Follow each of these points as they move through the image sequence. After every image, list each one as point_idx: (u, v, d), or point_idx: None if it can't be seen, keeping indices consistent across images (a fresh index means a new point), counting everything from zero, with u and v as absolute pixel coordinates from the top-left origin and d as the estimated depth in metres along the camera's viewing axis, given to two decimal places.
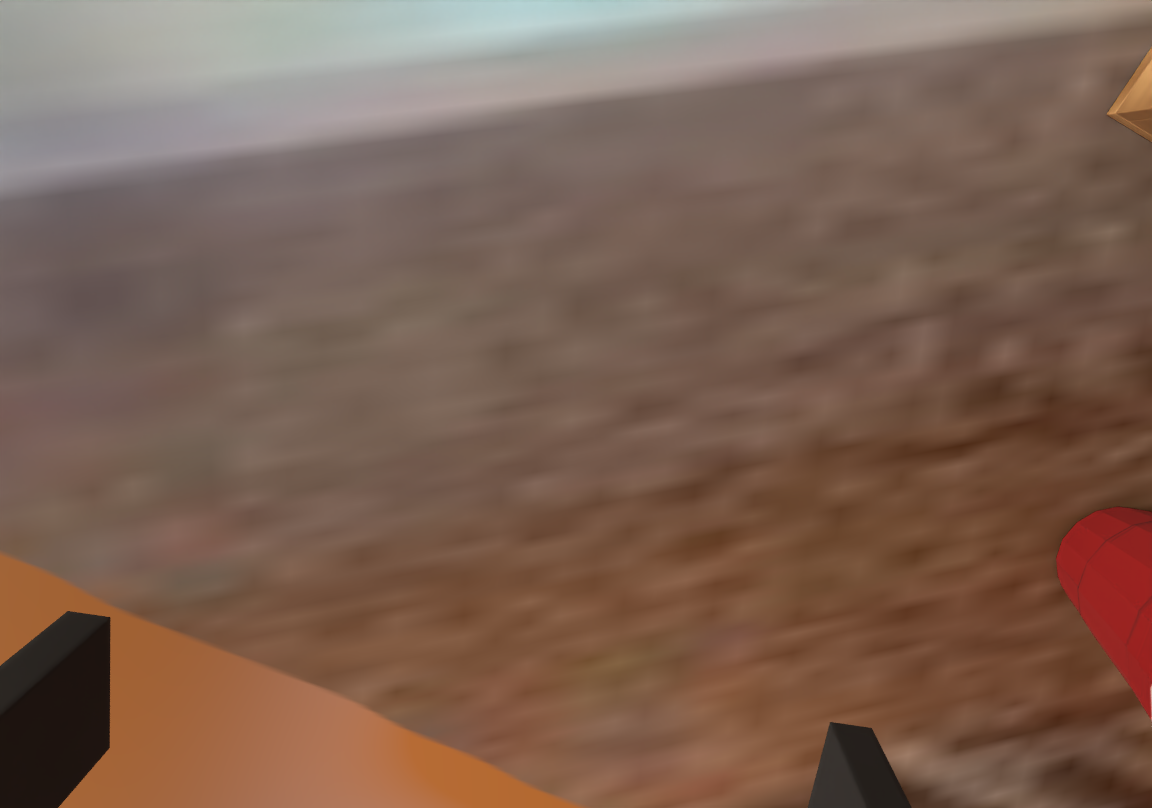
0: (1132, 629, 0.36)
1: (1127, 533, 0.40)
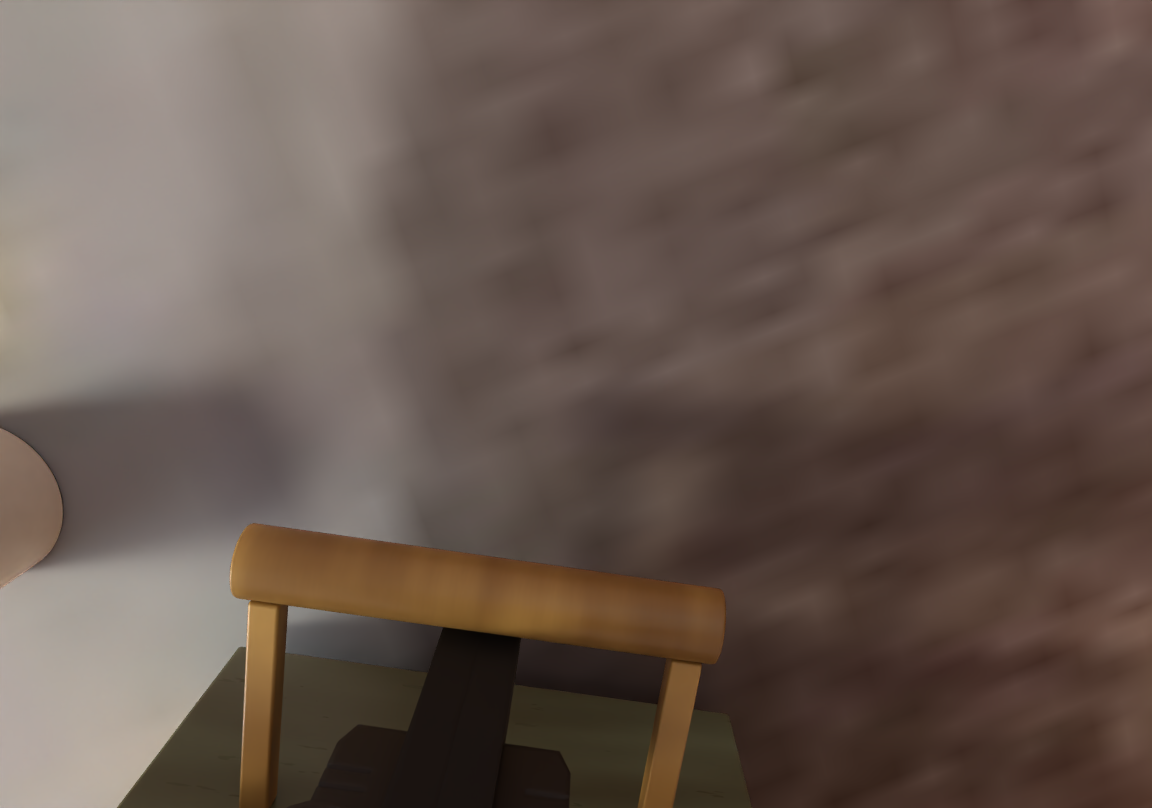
0: None
1: None
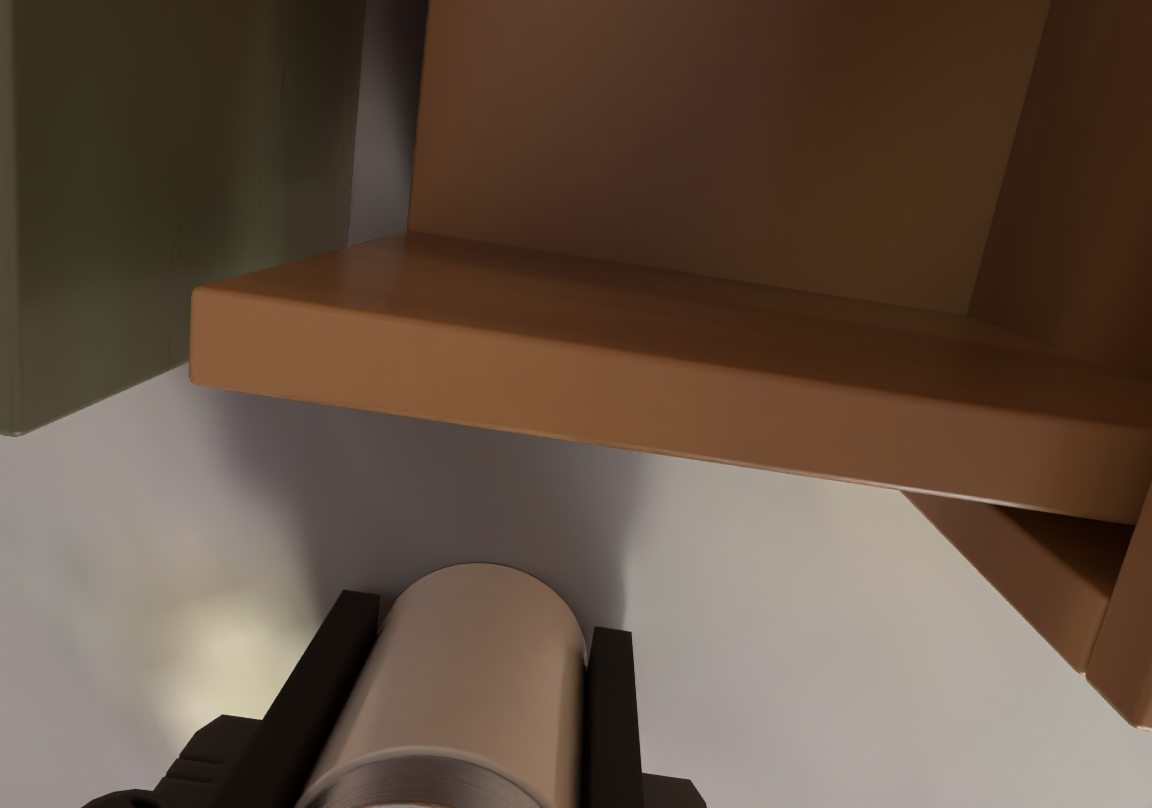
0: None
1: None
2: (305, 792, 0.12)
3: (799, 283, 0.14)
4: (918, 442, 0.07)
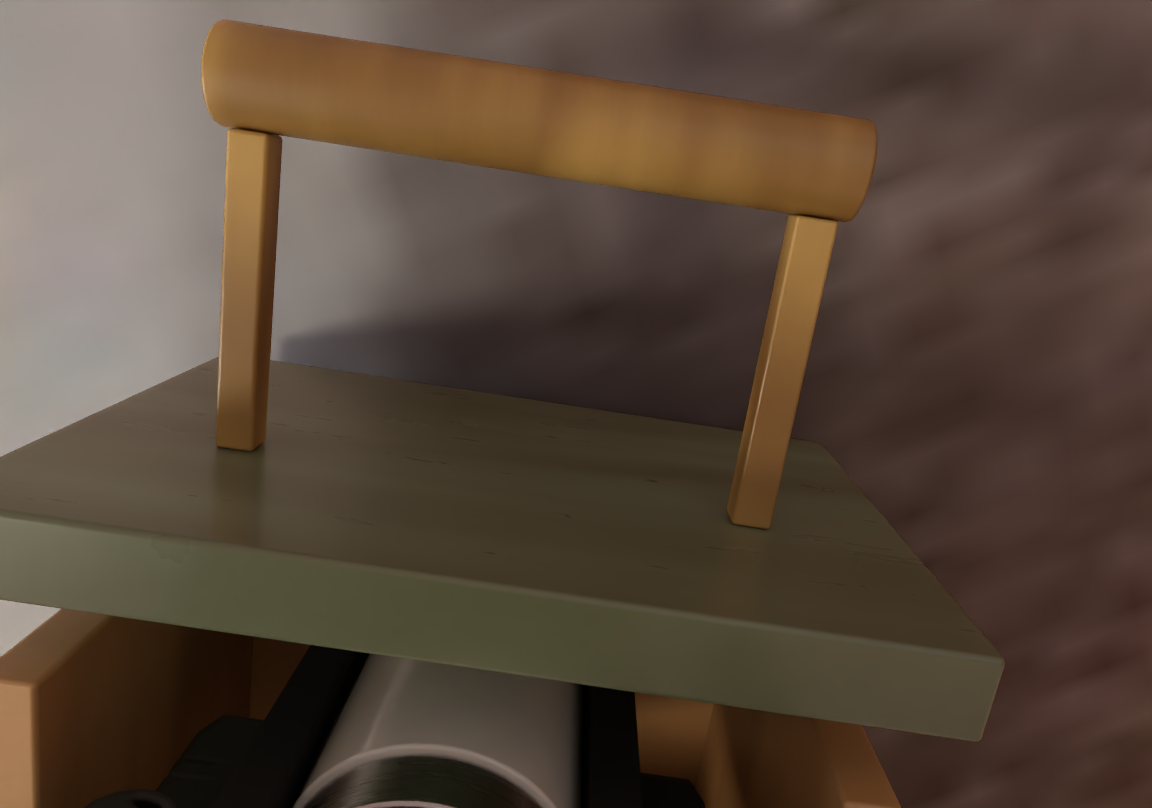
0: None
1: None
2: (305, 790, 0.12)
3: None
4: None
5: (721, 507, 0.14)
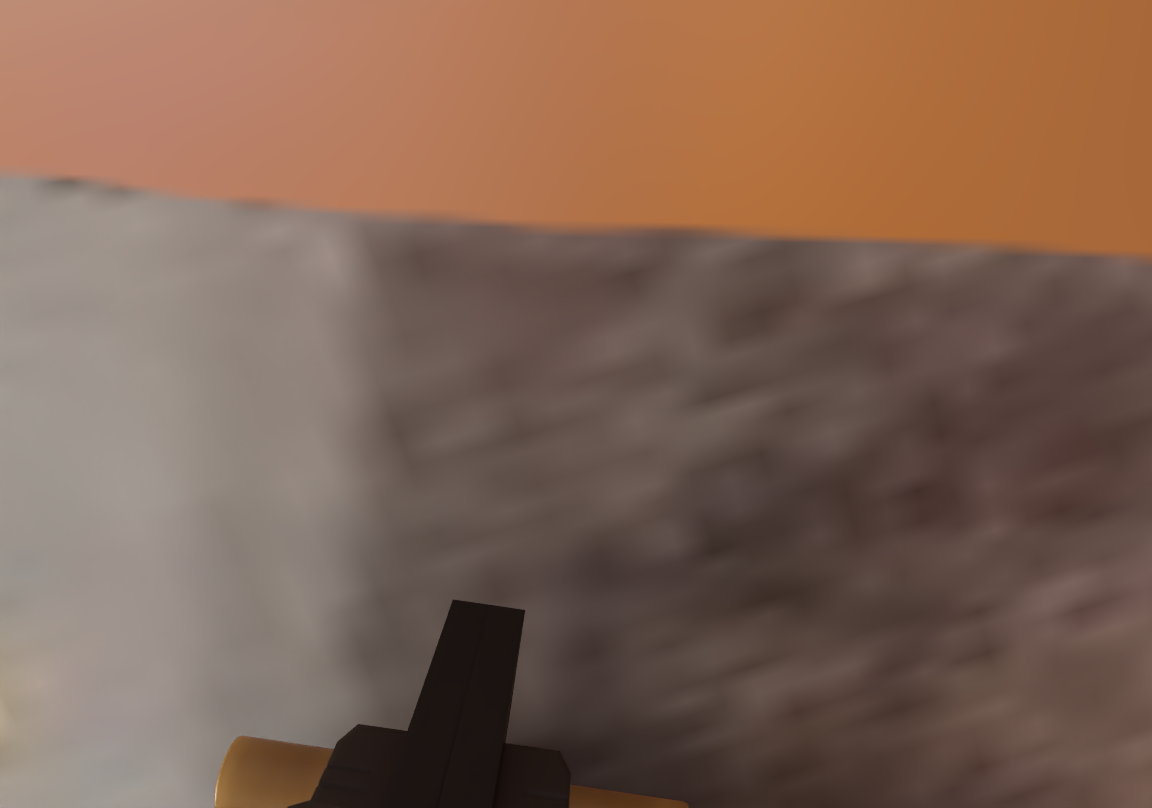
0: None
1: None
2: None
3: None
4: None
5: None
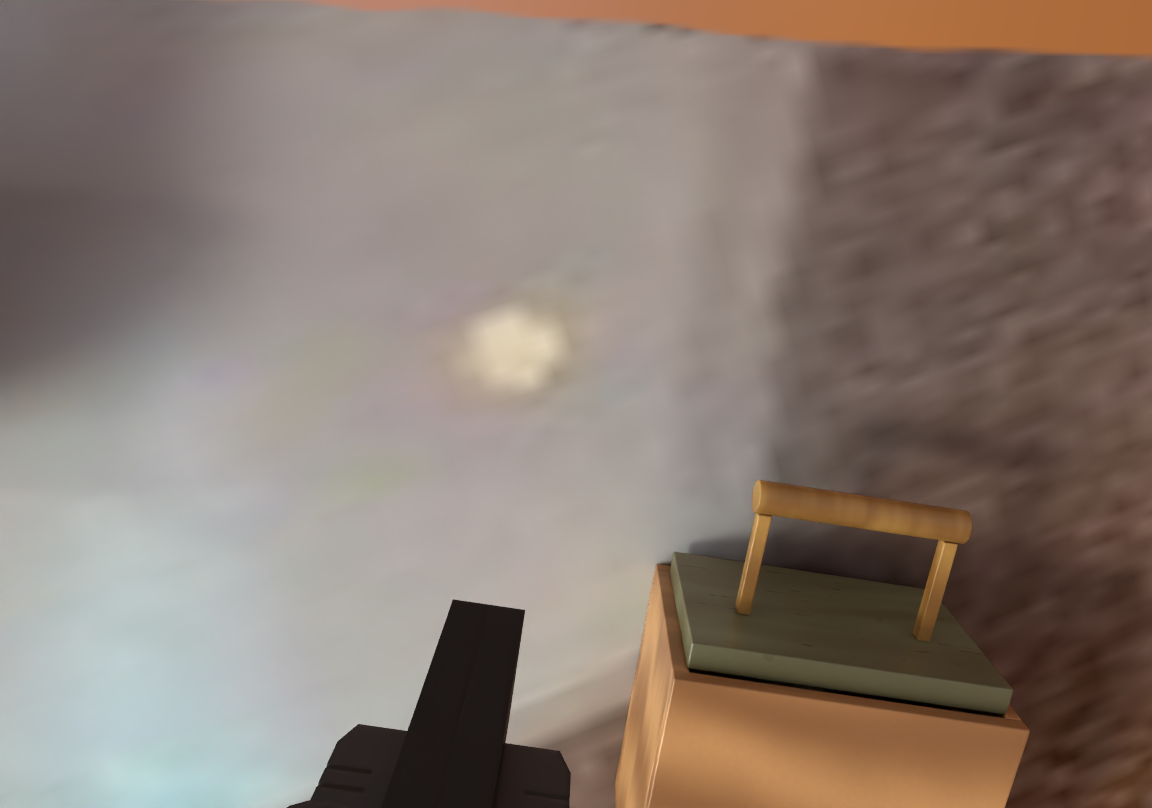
0: None
1: None
2: None
3: None
4: None
5: (910, 631, 0.38)
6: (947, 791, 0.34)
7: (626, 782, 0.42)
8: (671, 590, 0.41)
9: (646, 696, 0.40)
